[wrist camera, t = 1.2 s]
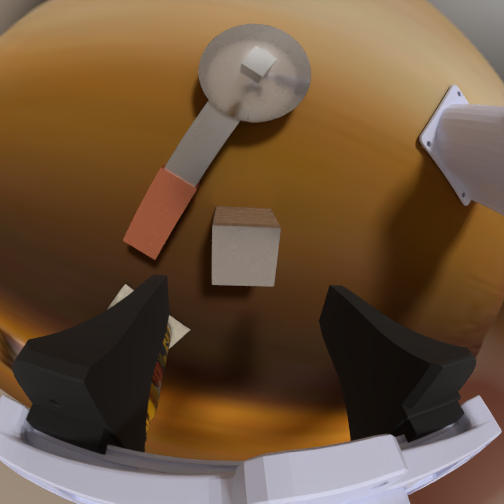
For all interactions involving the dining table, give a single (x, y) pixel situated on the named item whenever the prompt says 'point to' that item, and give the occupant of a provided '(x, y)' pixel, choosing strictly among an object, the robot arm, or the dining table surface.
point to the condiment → (172, 336)
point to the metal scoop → (222, 118)
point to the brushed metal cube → (244, 246)
